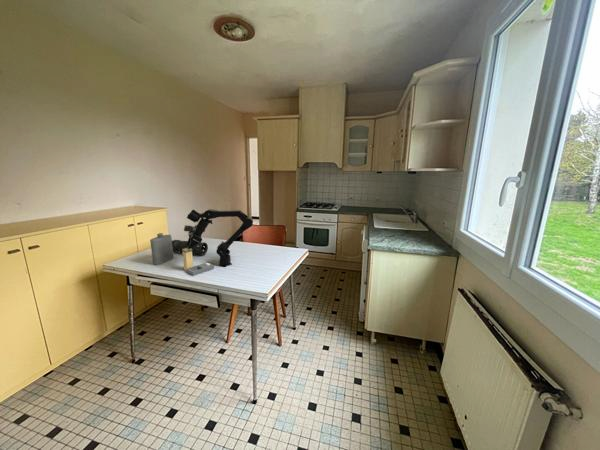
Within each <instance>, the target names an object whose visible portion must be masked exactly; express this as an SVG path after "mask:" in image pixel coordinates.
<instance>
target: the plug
mask: <svg viewBox="0 0 600 450" xmlns="http://www.w3.org/2000/svg"><path fill="white" fill-rule="evenodd" d="M182 252H183V254H182V259H183V268H184V271H185V272H187V271H186V269H187V268H190V267H193V266H194V259H193V254H192V249H188V248H185V249H182Z"/></svg>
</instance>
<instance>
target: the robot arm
mask: <svg viewBox="0 0 600 450" xmlns="http://www.w3.org/2000/svg"><path fill="white" fill-rule="evenodd" d="M229 217H230V218H231V217H235V218H236V217H238V219H239V220H240V221H241V222H242V223H241V225H239V227H238V228H237V229H236V230H235V232H233V233H232V235H230V236H229V238H228V239H227V240H226V241H221V243H219V244H218V246H217V247H216V250H215V252H216V254H217V255H218V256H219V259H218V261H219V263H218V266H221V267H223V268H225V267H227V266H232V265H233V263H232V262H231V250H229V248H230V246H231V245H232V244H233V243H234V242H235V241H237V240H238V238H239V237H240V236H241V235H242V234H243V233H244V232H245V231H246V230H248V229H250V228H251V227H252V226H253V224H254V219H253V217H250V216H248V215H247V214H246V213H244V212H243V211H242V210H240V209H238V210H235V209H234V210H218V209H212V208H209V209H206V210H205V211H204V212H201V213H200V212H198V211H197V210H196V209H192V210H191V211H190V212H189V213H188V215H187V216H186V219H187V220H189V221H192V222H193V223H197V224H196V225H194V226H192V225H184V228H183V231H184V232H188V234H187V235H188V240H187V241H188V242H187V244H186V246H188V249H191V248H192V247H194V246H195V245H197V244H198V243H201V242H203V238H202V235H203V234H204V233H205V232H206V229H207V228H208V226H209V225H210V224H211V225H213V220H214V219H217V218H229ZM212 219H213V220H212Z"/></svg>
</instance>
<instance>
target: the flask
mask: <svg viewBox="0 0 600 450" xmlns="http://www.w3.org/2000/svg"><path fill="white" fill-rule="evenodd" d="M172 240H173V239H172V234H163V232H158V233H157V234H156V236H155V237H152V238H151V239H150V250H151V257H152V264H153V265H154V266H159V265H162V264H164V263H166V262H169V261H172V260H174V252H173V247H172Z"/></svg>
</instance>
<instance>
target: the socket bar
mask: <svg viewBox="0 0 600 450" xmlns="http://www.w3.org/2000/svg"><path fill="white" fill-rule="evenodd" d="M214 269H215V265H214V264H212V263H210V262H203V263H200V264H197V265H193V267H190V268H187V269H186V271H185V272H186V273H187V274H189V275H191V276H194V277H195V276H197V275H200V274H203V273H206V272H210V271H213V270H214Z"/></svg>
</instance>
